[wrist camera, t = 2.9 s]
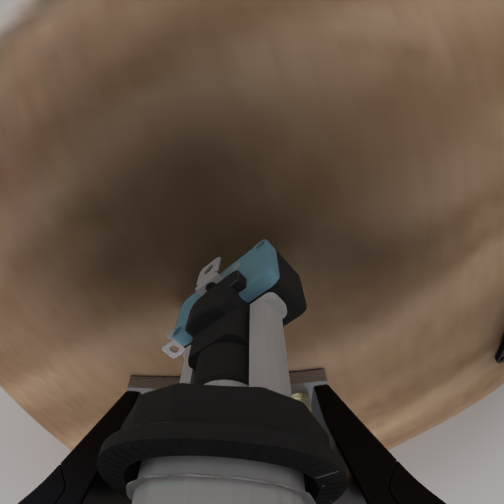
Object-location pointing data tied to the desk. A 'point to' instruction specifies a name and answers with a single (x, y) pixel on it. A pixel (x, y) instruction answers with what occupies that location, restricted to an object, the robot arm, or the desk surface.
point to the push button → (228, 403)
